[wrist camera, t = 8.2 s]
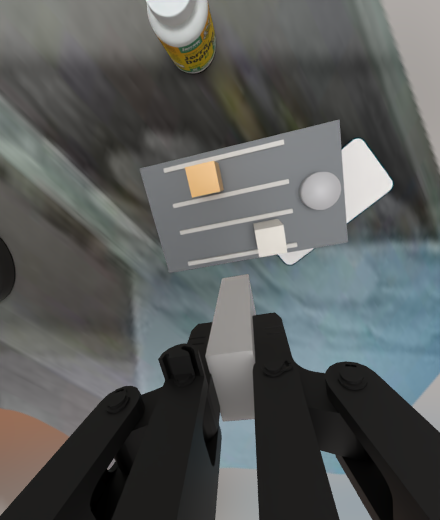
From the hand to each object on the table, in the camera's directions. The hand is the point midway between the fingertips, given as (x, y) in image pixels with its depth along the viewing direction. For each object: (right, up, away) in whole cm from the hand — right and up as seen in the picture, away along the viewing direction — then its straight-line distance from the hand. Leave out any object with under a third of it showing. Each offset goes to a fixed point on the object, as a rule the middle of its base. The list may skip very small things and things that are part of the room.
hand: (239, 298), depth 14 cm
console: (+2, +10, +18) cm, 21 cm away
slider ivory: (+5, +5, +16) cm, 18 cm away
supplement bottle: (-4, +26, +14) cm, 30 cm away
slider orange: (-2, +12, +15) cm, 19 cm away
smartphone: (+12, +9, +18) cm, 23 cm away
